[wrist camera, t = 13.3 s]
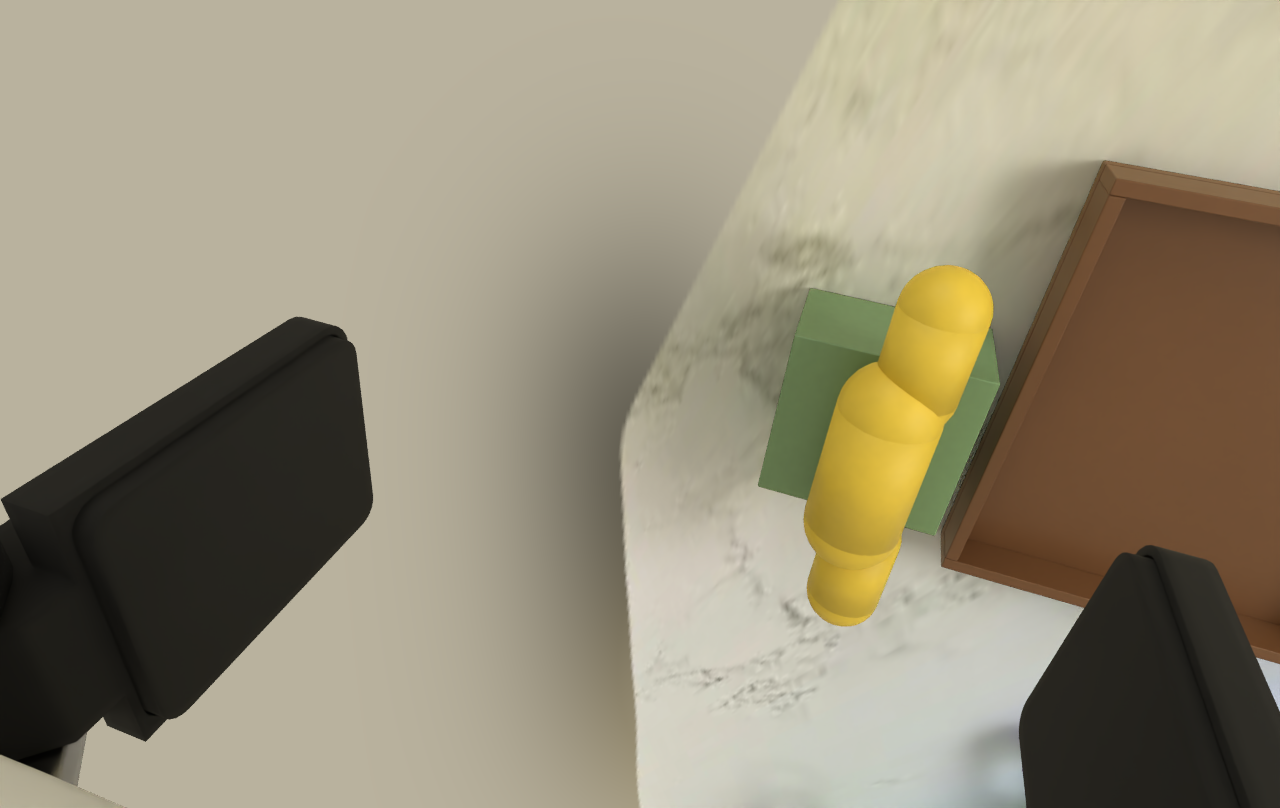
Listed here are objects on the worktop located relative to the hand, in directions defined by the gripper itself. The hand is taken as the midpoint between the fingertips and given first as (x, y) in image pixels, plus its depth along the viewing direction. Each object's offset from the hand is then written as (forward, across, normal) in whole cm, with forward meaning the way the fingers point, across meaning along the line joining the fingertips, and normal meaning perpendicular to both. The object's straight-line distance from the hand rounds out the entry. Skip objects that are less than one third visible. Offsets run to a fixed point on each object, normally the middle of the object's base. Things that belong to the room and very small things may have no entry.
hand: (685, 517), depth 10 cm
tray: (+26, -18, +10) cm, 33 cm away
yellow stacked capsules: (+21, -4, +12) cm, 25 cm away
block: (+26, -4, +12) cm, 29 cm away
